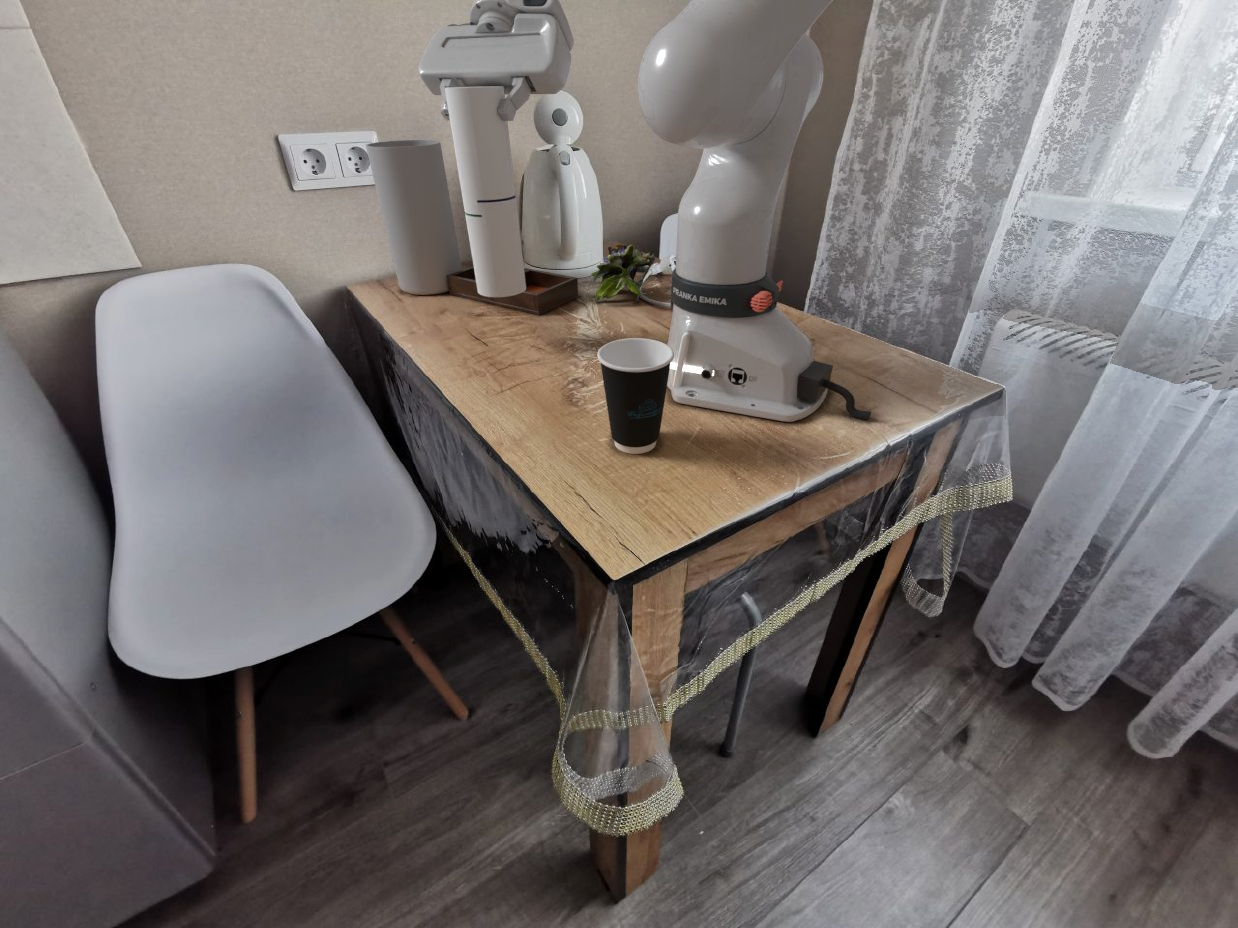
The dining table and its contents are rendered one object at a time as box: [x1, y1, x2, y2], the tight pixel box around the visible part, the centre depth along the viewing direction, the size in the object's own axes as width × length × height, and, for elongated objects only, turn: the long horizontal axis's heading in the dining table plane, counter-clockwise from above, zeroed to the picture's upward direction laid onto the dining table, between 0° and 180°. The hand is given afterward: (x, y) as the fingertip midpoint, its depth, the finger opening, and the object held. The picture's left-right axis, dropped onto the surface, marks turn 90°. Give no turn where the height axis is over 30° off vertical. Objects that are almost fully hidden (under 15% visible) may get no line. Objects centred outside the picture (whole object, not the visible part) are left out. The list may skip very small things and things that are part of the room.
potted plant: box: [591, 243, 656, 304], centre depth 103 cm, size 11×11×12 cm
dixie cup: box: [596, 337, 674, 455], centre depth 61 cm, size 8×8×11 cm
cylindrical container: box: [445, 86, 526, 297], centre depth 76 cm, size 7×7×25 cm
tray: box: [446, 266, 579, 316], centre depth 106 cm, size 22×12×4 cm, turn 57°
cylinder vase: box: [365, 139, 463, 296], centre depth 105 cm, size 12×12×25 cm
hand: (475, 117), depth 70 cm, fingers closed on cylindrical container, 7 cm apart
